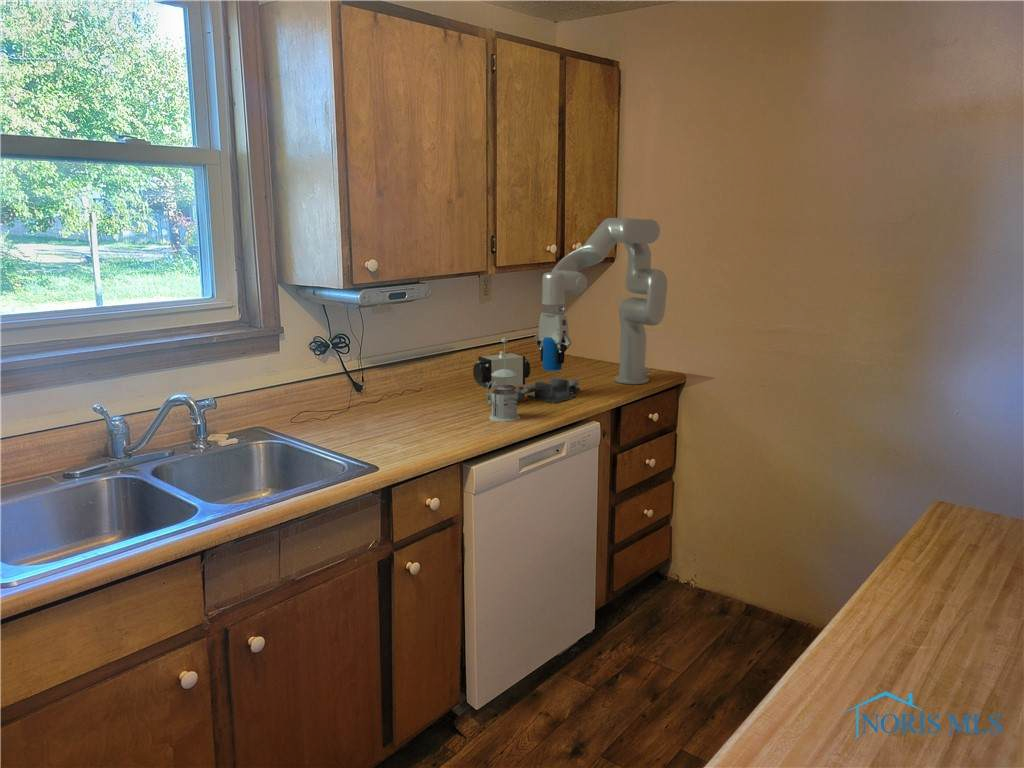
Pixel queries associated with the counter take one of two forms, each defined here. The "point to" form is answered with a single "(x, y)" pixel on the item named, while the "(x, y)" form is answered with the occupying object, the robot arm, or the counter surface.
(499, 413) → the french press
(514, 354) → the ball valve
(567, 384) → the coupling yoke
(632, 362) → the robot arm
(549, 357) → the beverage can
